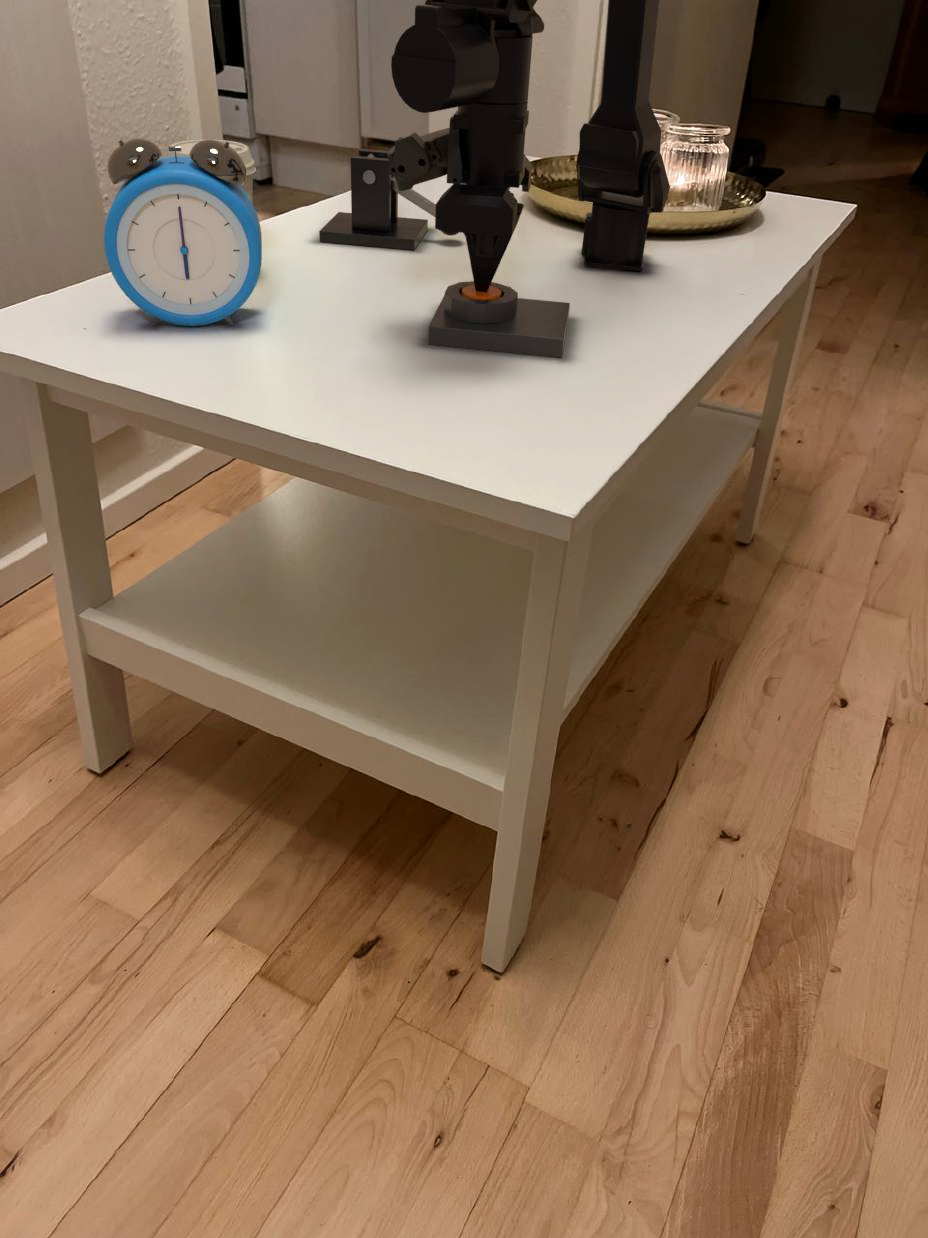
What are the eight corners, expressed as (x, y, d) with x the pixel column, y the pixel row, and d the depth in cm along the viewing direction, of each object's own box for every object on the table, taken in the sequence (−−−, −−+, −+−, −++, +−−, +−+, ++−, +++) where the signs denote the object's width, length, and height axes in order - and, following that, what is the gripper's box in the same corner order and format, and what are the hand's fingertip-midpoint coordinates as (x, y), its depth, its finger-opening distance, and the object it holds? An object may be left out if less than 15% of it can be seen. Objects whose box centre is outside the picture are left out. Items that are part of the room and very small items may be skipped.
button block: (568, 320, 95) (572, 283, 93) (561, 357, 87) (566, 318, 85) (445, 308, 96) (446, 272, 94) (427, 344, 88) (428, 305, 86)
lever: (457, 236, 116) (471, 212, 114) (453, 244, 113) (467, 219, 112) (360, 174, 113) (373, 148, 112) (354, 180, 111) (367, 154, 109)
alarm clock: (116, 330, 87) (86, 145, 78) (124, 306, 92) (96, 130, 83) (266, 328, 89) (254, 148, 81) (266, 305, 94) (254, 133, 85)
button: (502, 305, 92) (503, 286, 91) (497, 317, 89) (499, 298, 88) (464, 301, 92) (464, 282, 91) (458, 314, 89) (459, 294, 88)
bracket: (427, 229, 119) (429, 150, 114) (414, 250, 112) (415, 166, 106) (338, 221, 120) (336, 142, 115) (319, 241, 112) (316, 158, 107)
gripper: (416, 76, 89) (413, 254, 98) (371, 109, 74) (372, 315, 83) (539, 85, 88) (524, 264, 97) (519, 120, 73) (504, 328, 82)
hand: (481, 290), depth 90 cm, fingers closed, pressing on button
